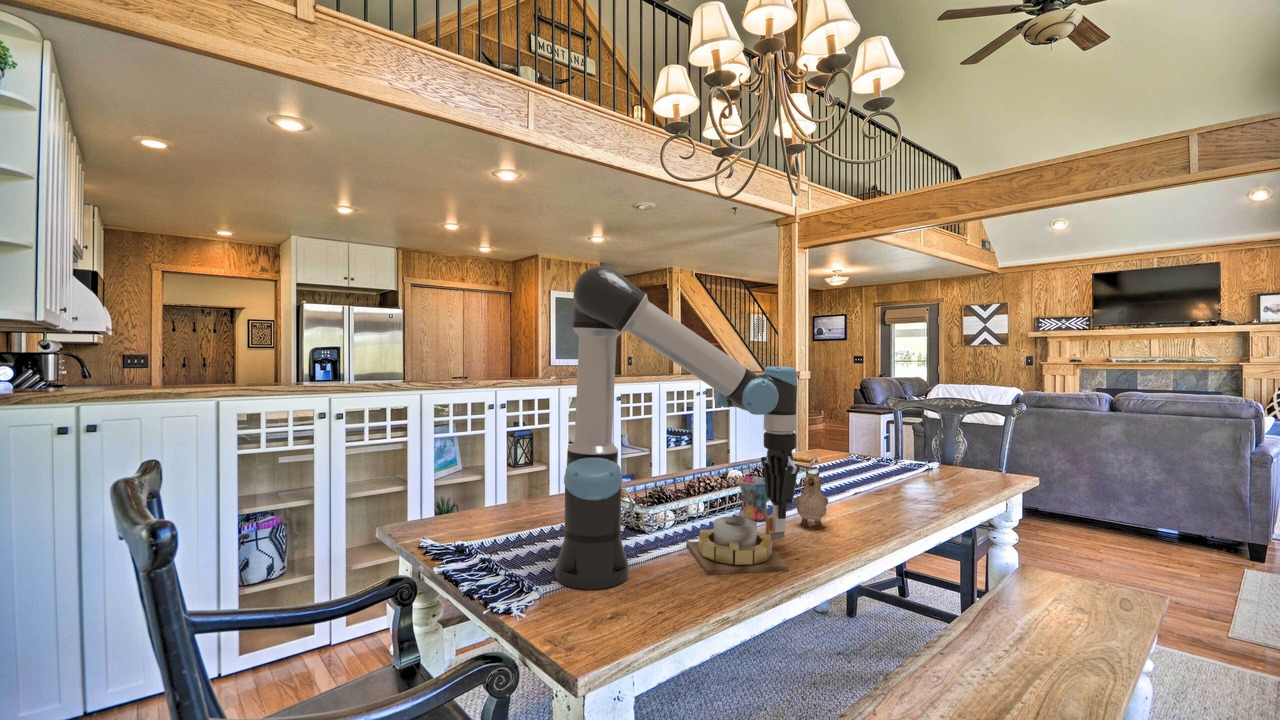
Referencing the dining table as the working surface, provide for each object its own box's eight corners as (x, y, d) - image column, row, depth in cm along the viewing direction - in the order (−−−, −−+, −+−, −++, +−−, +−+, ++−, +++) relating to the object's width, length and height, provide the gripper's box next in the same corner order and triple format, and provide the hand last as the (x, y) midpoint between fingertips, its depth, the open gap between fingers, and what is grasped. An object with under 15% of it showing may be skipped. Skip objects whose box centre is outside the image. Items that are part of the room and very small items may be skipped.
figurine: (791, 529, 157) (793, 473, 157) (793, 519, 166) (794, 466, 166) (828, 533, 154) (829, 475, 154) (827, 522, 164) (828, 468, 163)
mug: (753, 524, 161) (753, 485, 161) (730, 516, 169) (730, 478, 169) (784, 518, 168) (785, 480, 167) (761, 510, 175) (762, 474, 175)
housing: (707, 574, 125) (708, 533, 125) (685, 545, 144) (686, 508, 144) (788, 570, 129) (789, 529, 128) (756, 541, 147) (757, 506, 147)
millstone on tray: (733, 569, 125) (734, 540, 125) (685, 547, 138) (685, 521, 138) (808, 549, 138) (808, 522, 138) (757, 530, 151) (757, 506, 151)
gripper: (809, 434, 136) (808, 537, 137) (778, 427, 149) (777, 522, 149) (781, 436, 134) (780, 540, 134) (751, 428, 146) (750, 524, 147)
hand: (778, 530), depth 142 cm, fingers closed
